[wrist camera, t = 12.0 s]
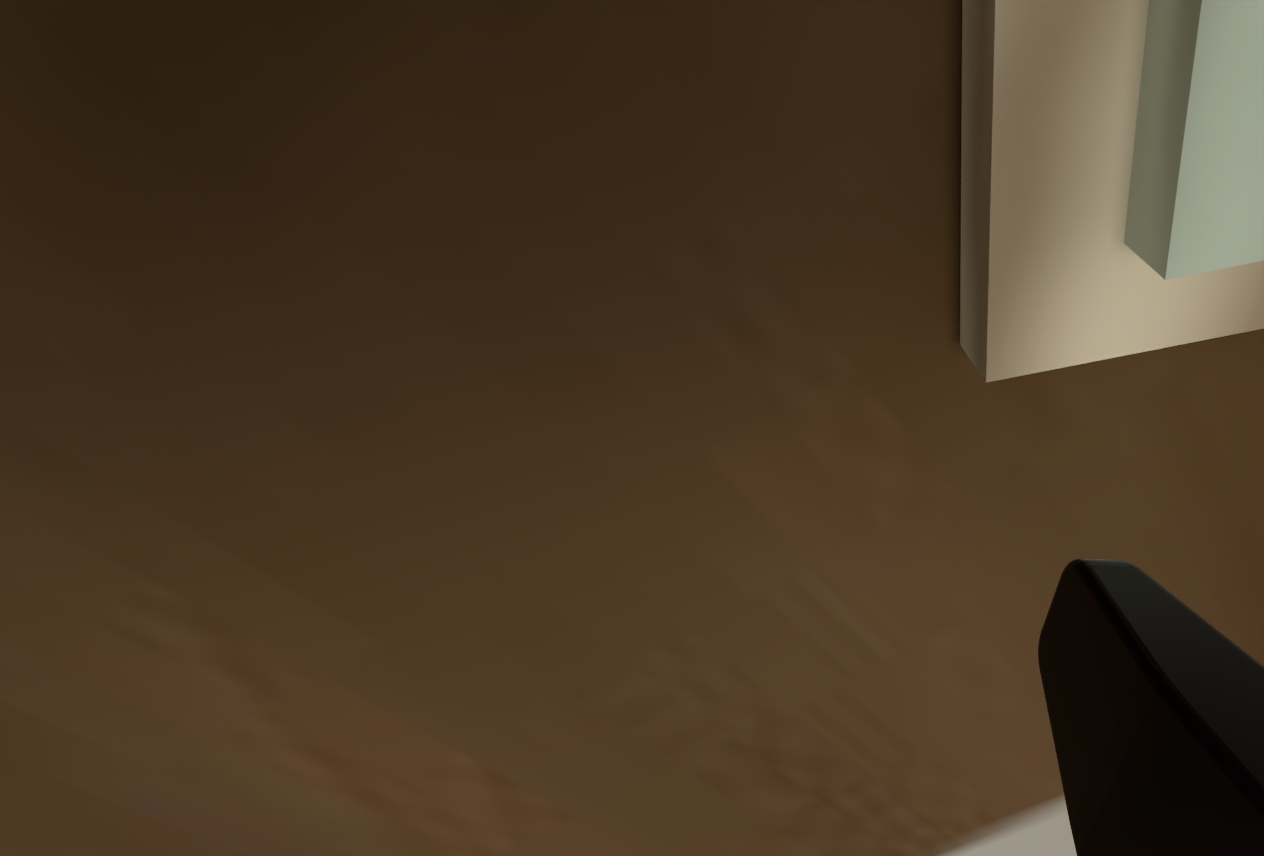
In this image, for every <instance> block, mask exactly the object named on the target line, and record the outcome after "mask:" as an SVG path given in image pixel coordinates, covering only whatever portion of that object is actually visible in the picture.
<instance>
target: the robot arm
mask: <svg viewBox="0 0 1264 856" xmlns="http://www.w3.org/2000/svg"><path fill="white" fill-rule="evenodd" d="M1038 658H1039V667H1040V673H1041V678H1042V683H1043V688H1044V693H1045V698H1046V703H1047V709H1048V714H1049V719H1050V724H1051V729H1052V734H1053V739H1054V744H1055V749H1056V754H1057V759H1058V765H1059V770H1060V775H1061V780H1062V785H1063V790H1064V795H1065V800H1066V805H1067V810H1068V815H1069V821H1070V825H1071V830H1072V834H1073V839H1074V843H1075V848H1076V852H1077V856H1264V667H1263V666H1262V665H1261V664H1260V663H1258V662H1257V661H1256V660H1255V659H1253V658H1252V657H1251V656H1249V655H1248V654H1247V653H1246V652H1244V651H1243V650H1242V649H1241V648H1239V647H1238V646H1237V645H1236V644H1234V643H1233V642H1232V641H1231V640H1229V639H1228V638H1227V637H1225V636H1224V635H1223V634H1222V633H1220V632H1219V631H1218V630H1217V629H1215V628H1214V627H1213V626H1212V625H1210V624H1209V623H1208V622H1206V621H1205V620H1204V619H1203V618H1201V617H1200V616H1199V615H1198V614H1196V613H1195V612H1194V611H1193V610H1191V609H1190V608H1189V607H1188V606H1186V605H1185V604H1184V603H1182V602H1181V601H1180V600H1179V599H1177V598H1176V597H1175V596H1174V595H1172V594H1171V593H1170V592H1169V591H1167V590H1166V589H1165V588H1163V587H1162V586H1161V585H1160V584H1158V583H1157V582H1156V581H1155V580H1153V579H1152V578H1151V577H1150V576H1148V575H1147V574H1146V573H1145V572H1143V571H1142V570H1141V569H1139V568H1138V567H1137V566H1135V565H1134V564H1132V563H1130V562H1128V561H1123V560H1114V559H1083V558H1081V559H1076V560H1073V561H1071V562H1070V563H1069V564H1068V565H1067V566H1066V567H1065V569H1064V571H1063V573H1062V575H1061V578H1060V580H1059V583H1058V586H1057V589H1056V592H1055V594H1054V597H1053V600H1052V603H1051V606H1050V608H1049V611H1048V614H1047V617H1046V620H1045V622H1044V625H1043V628H1042V631H1041V635H1040V639H1039V647H1038Z"/></svg>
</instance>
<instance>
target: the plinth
mask: <svg viewBox="0 0 1264 856" xmlns="http://www.w3.org/2000/svg"><path fill="white" fill-rule="evenodd" d="M1263 328H1264V0H962V117H961V261H960V345H961V347H962V348H963V350H964V351H965V353H966V354H967V356H968V357H969V358H970V360H971V361H972V363H973V364H974V366H975V367H976V369H977V370H978V371H979V373H980V374H981V376H982V377H983V379H984V380H985V382H991V381H996V380H1002V379H1007V378H1012V377H1017V376H1022V375H1027V374H1032V373H1037V372H1043V371H1048V370H1053V369H1058V368H1063V367H1068V366H1073V365H1078V364H1084V363H1089V362H1094V361H1099V360H1104V359H1109V358H1114V357H1120V356H1125V355H1130V354H1135V353H1140V352H1145V351H1150V350H1155V349H1161V348H1166V347H1171V346H1176V345H1181V344H1186V343H1191V342H1197V341H1202V340H1207V339H1212V338H1217V337H1222V336H1227V335H1232V334H1238V333H1243V332H1248V331H1253V330H1258V329H1263Z"/></svg>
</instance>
